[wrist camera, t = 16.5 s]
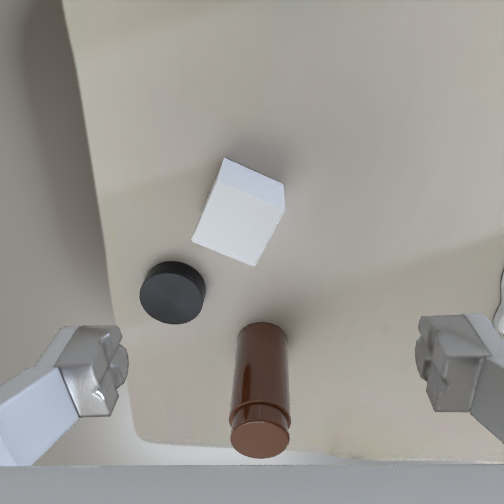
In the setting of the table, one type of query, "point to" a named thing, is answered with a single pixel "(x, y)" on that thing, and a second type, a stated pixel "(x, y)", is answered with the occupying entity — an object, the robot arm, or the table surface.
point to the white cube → (240, 213)
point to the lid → (173, 293)
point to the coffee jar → (260, 392)
